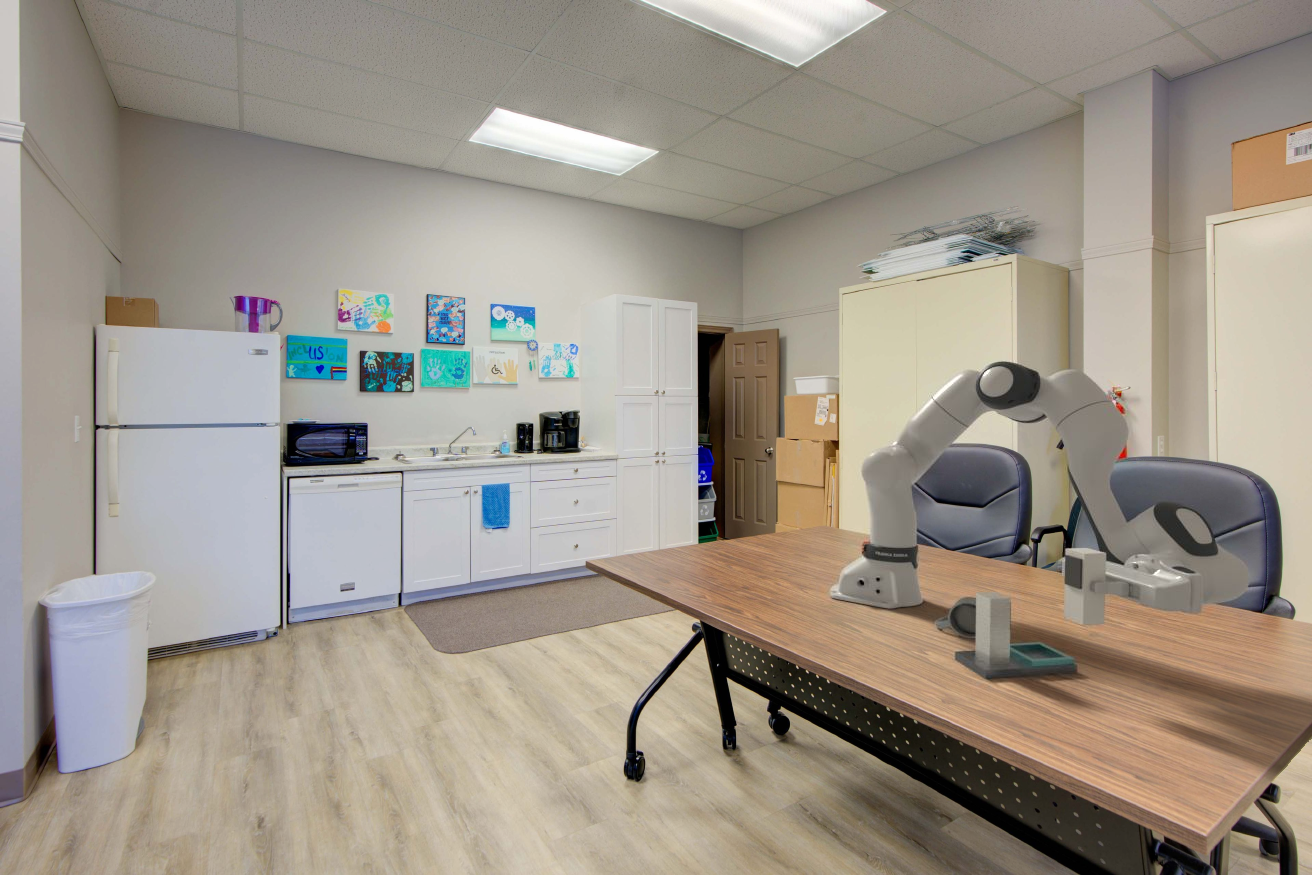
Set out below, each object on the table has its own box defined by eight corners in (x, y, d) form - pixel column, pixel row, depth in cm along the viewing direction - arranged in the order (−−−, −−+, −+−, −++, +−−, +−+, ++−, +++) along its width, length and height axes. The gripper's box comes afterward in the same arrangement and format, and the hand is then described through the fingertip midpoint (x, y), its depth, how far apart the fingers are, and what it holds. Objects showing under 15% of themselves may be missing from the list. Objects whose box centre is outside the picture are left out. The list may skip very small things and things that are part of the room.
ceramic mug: (990, 629, 135) (990, 595, 135) (988, 641, 128) (988, 604, 128) (938, 622, 141) (937, 589, 141) (932, 633, 134) (932, 598, 134)
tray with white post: (985, 678, 110) (986, 603, 110) (954, 659, 119) (955, 589, 119) (1077, 672, 113) (1078, 599, 112) (1040, 653, 122) (1041, 585, 121)
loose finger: (1080, 625, 103) (1082, 553, 103) (1061, 617, 107) (1063, 548, 107) (1104, 624, 104) (1106, 552, 103) (1084, 616, 108) (1086, 547, 107)
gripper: (1102, 548, 117) (1035, 550, 115) (1212, 577, 97) (1133, 580, 95) (1101, 581, 117) (1034, 584, 115) (1211, 617, 97) (1132, 621, 95)
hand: (1080, 582), depth 105 cm, fingers closed on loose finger, 4 cm apart
